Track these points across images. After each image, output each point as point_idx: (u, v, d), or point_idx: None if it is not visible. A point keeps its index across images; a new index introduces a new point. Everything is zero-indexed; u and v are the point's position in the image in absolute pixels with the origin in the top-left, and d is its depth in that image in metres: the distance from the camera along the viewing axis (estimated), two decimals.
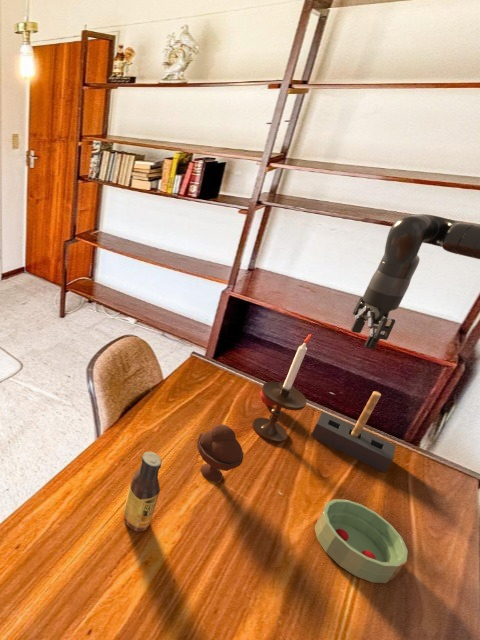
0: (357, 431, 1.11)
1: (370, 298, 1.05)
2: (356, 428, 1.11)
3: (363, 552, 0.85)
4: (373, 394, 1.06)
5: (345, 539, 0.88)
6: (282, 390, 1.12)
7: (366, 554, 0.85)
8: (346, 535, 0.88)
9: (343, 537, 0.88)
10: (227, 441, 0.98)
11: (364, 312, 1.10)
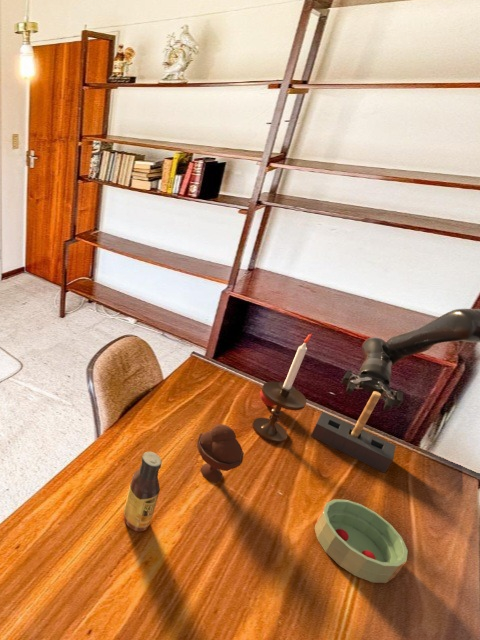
0: (357, 431, 1.11)
1: None
2: (356, 428, 1.11)
3: (363, 552, 0.85)
4: (373, 394, 1.06)
5: (345, 539, 0.88)
6: (282, 390, 1.12)
7: (366, 554, 0.85)
8: (346, 535, 0.88)
9: (343, 537, 0.88)
10: (227, 441, 0.98)
11: None
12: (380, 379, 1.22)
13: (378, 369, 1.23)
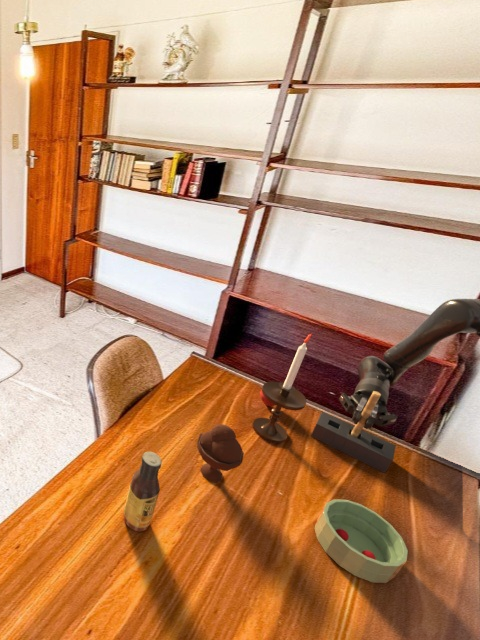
0: (357, 431, 1.11)
1: None
2: (356, 428, 1.11)
3: (363, 552, 0.85)
4: (373, 394, 1.06)
5: (345, 539, 0.88)
6: (282, 390, 1.12)
7: (366, 554, 0.85)
8: (346, 535, 0.88)
9: (343, 537, 0.88)
10: (227, 441, 0.98)
11: None
12: None
13: (373, 389, 1.15)
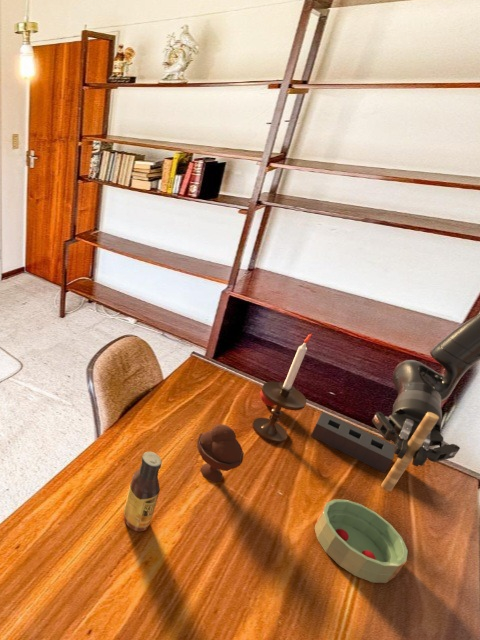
0: (400, 468, 0.78)
1: None
2: (399, 463, 0.78)
3: (363, 552, 0.85)
4: (427, 416, 0.73)
5: (345, 539, 0.88)
6: (282, 390, 1.12)
7: (366, 554, 0.85)
8: (346, 535, 0.88)
9: (343, 537, 0.88)
10: (227, 441, 0.98)
11: None
12: None
13: (422, 407, 0.82)
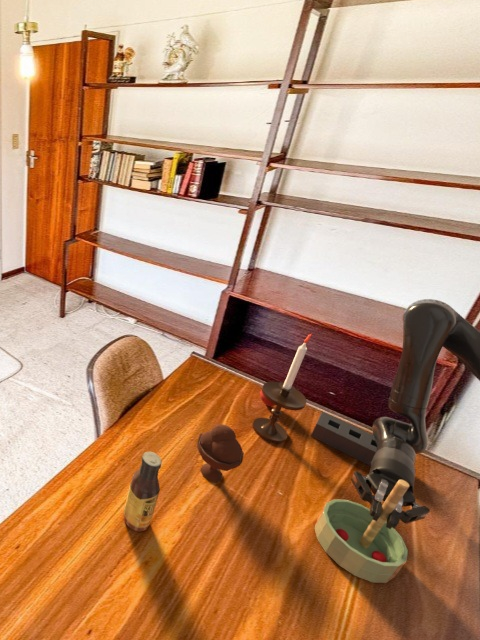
0: (376, 527, 0.84)
1: None
2: (375, 523, 0.84)
3: (383, 554, 0.85)
4: (399, 484, 0.79)
5: (345, 539, 0.88)
6: (282, 390, 1.12)
7: (385, 558, 0.84)
8: (346, 535, 0.88)
9: (343, 537, 0.88)
10: (227, 441, 0.98)
11: None
12: None
13: (396, 468, 0.89)
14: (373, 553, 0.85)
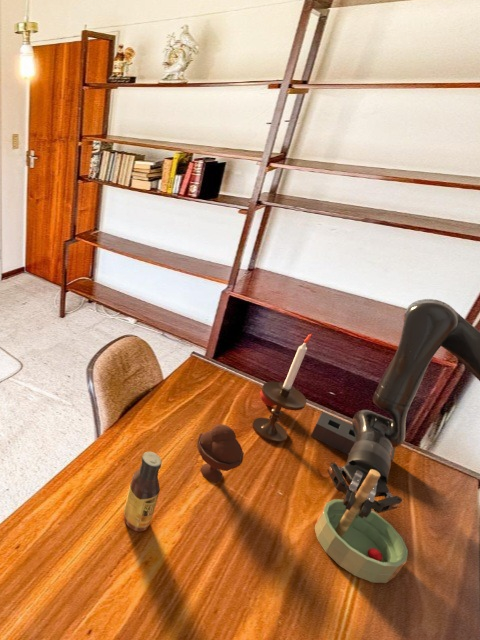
0: (349, 517, 0.86)
1: None
2: (348, 513, 0.86)
3: (376, 550, 0.85)
4: (370, 474, 0.81)
5: None
6: (282, 390, 1.12)
7: (379, 553, 0.85)
8: None
9: None
10: (227, 441, 0.98)
11: None
12: None
13: (371, 460, 0.90)
14: (368, 552, 0.86)
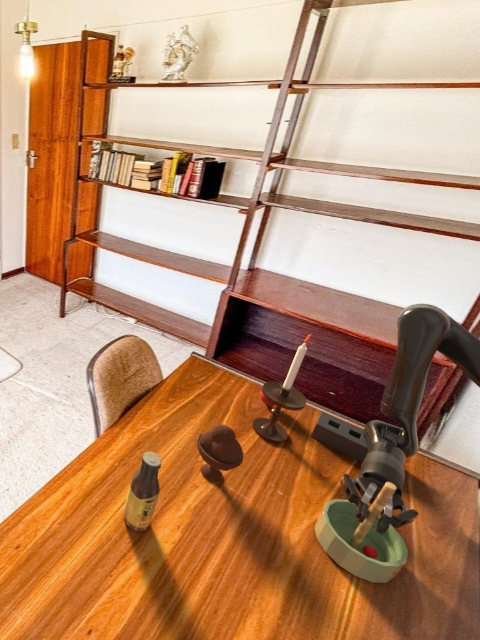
0: (364, 530, 0.85)
1: None
2: (363, 526, 0.85)
3: (367, 545, 0.86)
4: (386, 486, 0.80)
5: None
6: (282, 390, 1.12)
7: (369, 547, 0.86)
8: None
9: None
10: (227, 441, 0.98)
11: None
12: None
13: (385, 472, 0.89)
14: None
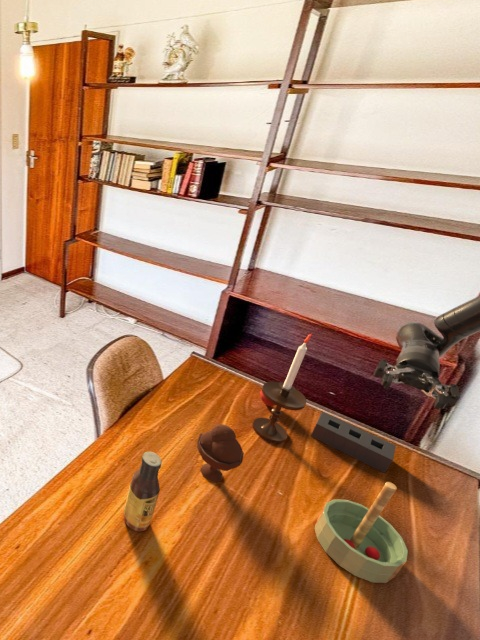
0: (364, 530, 0.85)
1: None
2: (363, 526, 0.85)
3: (371, 547, 0.86)
4: (386, 486, 0.80)
5: None
6: (282, 390, 1.12)
7: (374, 549, 0.85)
8: None
9: None
10: (227, 441, 0.98)
11: None
12: (426, 371, 0.93)
13: (422, 358, 0.94)
14: (365, 552, 0.86)
